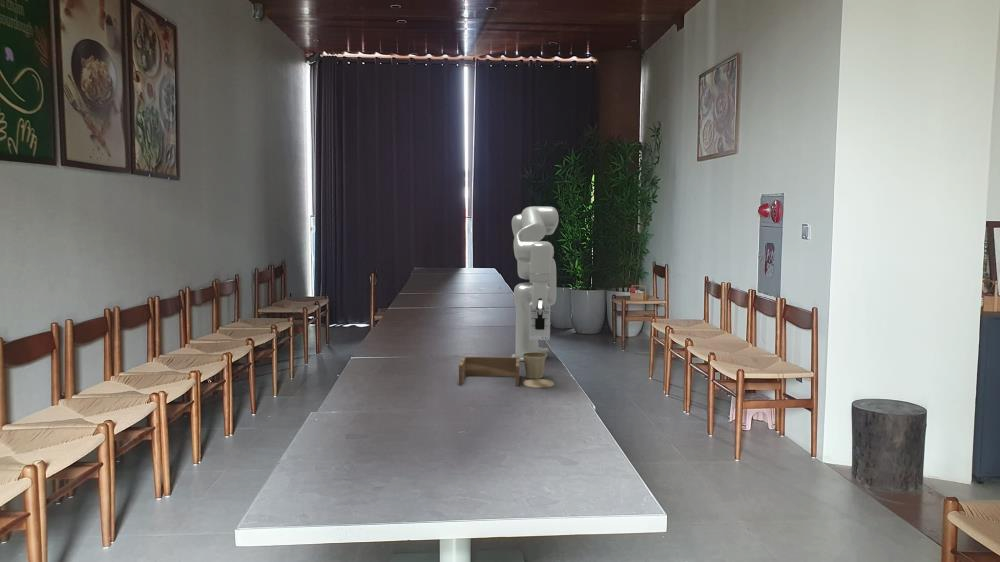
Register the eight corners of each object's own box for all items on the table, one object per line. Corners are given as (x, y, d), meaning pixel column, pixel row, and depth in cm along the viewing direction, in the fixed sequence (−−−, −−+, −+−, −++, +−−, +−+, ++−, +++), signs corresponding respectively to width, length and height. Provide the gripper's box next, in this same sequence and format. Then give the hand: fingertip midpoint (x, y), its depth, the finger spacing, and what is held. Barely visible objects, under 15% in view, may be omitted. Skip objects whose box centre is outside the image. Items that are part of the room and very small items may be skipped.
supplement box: (529, 336, 271) (530, 301, 270) (550, 336, 271) (550, 301, 269) (528, 339, 264) (528, 304, 263) (549, 340, 263) (550, 304, 262)
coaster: (543, 379, 277) (543, 377, 277) (559, 386, 267) (560, 384, 267) (517, 382, 272) (517, 380, 271) (533, 389, 262) (533, 387, 262)
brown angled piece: (462, 374, 283) (462, 356, 282) (519, 375, 282) (519, 357, 281) (458, 384, 267) (458, 365, 267) (518, 385, 267) (519, 366, 266)
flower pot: (517, 378, 278) (517, 355, 277) (528, 373, 286) (528, 351, 285) (540, 381, 274) (540, 358, 273) (550, 376, 282) (551, 353, 281)
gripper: (529, 275, 274) (529, 323, 276) (529, 280, 257) (529, 331, 258) (550, 275, 274) (549, 323, 275) (551, 280, 256) (550, 331, 258)
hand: (539, 327), depth 267 cm, fingers closed on supplement box, 7 cm apart
